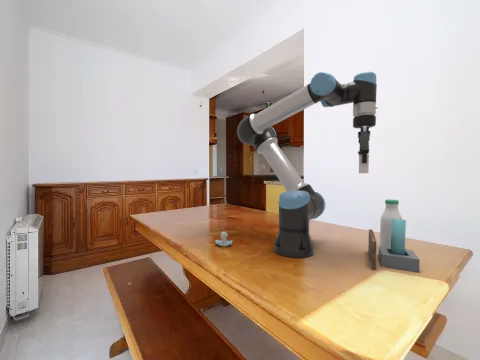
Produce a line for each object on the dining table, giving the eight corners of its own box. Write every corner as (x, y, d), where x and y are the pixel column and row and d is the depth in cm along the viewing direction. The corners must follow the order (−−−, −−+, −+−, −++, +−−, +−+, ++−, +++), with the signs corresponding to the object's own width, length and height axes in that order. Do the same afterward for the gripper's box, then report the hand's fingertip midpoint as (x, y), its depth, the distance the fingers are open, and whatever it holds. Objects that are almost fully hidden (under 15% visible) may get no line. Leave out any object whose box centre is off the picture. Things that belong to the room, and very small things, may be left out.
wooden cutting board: (371, 269, 74) (372, 241, 74) (368, 252, 90) (368, 229, 90) (375, 269, 73) (376, 241, 73) (371, 252, 90) (372, 229, 89)
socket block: (381, 266, 76) (381, 254, 76) (378, 256, 85) (378, 246, 85) (419, 272, 72) (419, 259, 72) (411, 261, 81) (412, 250, 81)
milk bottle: (406, 251, 91) (407, 201, 90) (384, 250, 92) (385, 200, 92) (396, 245, 98) (397, 199, 98) (377, 244, 100) (377, 198, 99)
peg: (391, 262, 77) (392, 220, 77) (389, 258, 81) (390, 218, 81) (405, 264, 76) (407, 221, 75) (403, 260, 79) (404, 219, 79)
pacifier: (216, 243, 101) (214, 247, 96) (217, 229, 102) (214, 232, 96) (233, 243, 101) (232, 247, 95) (233, 229, 101) (232, 232, 95)
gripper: (379, 106, 73) (377, 173, 74) (373, 122, 96) (372, 173, 96) (352, 108, 77) (351, 172, 77) (353, 123, 99) (352, 173, 100)
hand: (363, 173), depth 87 cm, fingers open, 13 cm apart
